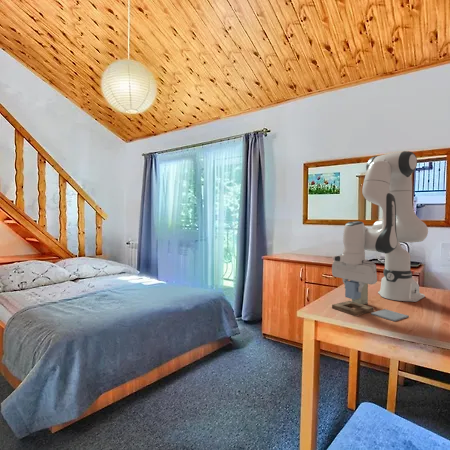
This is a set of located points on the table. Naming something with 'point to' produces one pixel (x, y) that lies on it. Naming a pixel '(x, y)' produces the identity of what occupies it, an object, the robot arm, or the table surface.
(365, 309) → the walnut stand
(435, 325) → the table surface
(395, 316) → the ceramic pad
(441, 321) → the table surface
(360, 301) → the skincare box
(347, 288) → the blue block
